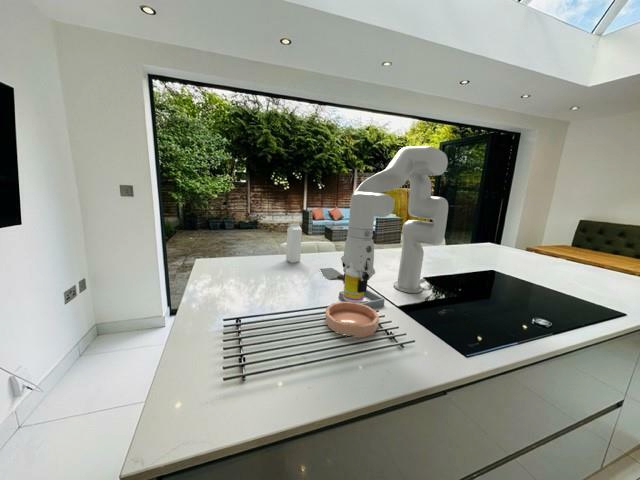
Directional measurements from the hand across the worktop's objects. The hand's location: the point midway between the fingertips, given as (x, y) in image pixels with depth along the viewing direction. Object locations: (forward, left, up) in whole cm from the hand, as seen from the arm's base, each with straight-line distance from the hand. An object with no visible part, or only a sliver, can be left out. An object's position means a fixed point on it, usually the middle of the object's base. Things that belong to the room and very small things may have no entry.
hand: (354, 287), depth 86 cm
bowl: (0, 0, -12) cm, 12 cm away
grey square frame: (-14, -12, -12) cm, 22 cm away
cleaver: (-20, -38, -13) cm, 45 cm away
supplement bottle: (0, 0, -4) cm, 4 cm away
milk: (-12, -71, -13) cm, 73 cm away
